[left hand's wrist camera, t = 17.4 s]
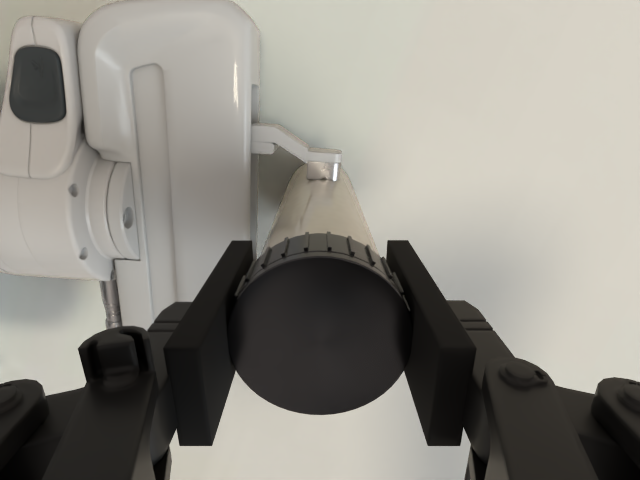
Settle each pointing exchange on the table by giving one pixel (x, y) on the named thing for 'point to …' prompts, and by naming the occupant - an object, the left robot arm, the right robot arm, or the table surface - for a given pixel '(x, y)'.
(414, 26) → the table surface
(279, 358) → the lid
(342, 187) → the jar
